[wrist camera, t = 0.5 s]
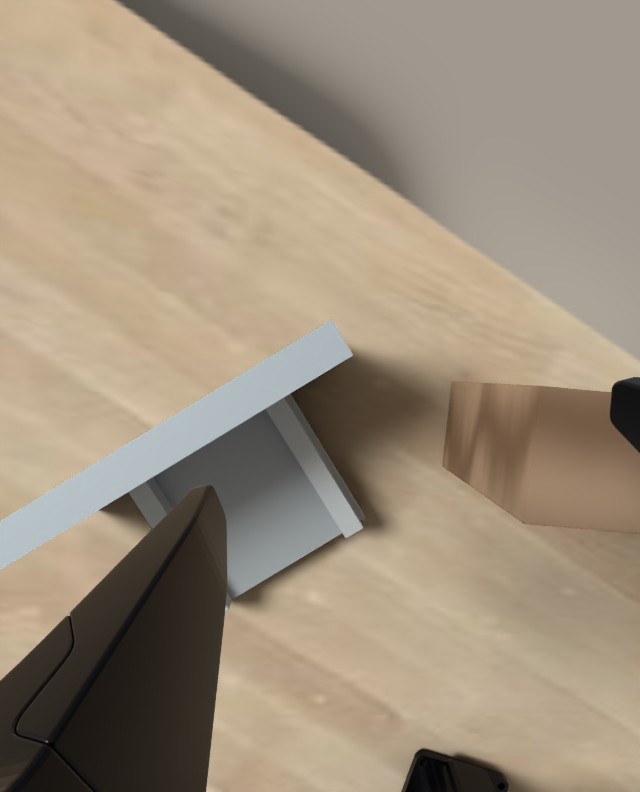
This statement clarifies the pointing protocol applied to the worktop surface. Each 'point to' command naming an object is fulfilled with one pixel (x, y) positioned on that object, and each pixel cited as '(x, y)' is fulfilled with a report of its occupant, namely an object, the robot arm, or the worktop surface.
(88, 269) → the worktop surface
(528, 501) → the walnut cabinet block
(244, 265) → the worktop surface
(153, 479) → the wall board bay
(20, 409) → the worktop surface
